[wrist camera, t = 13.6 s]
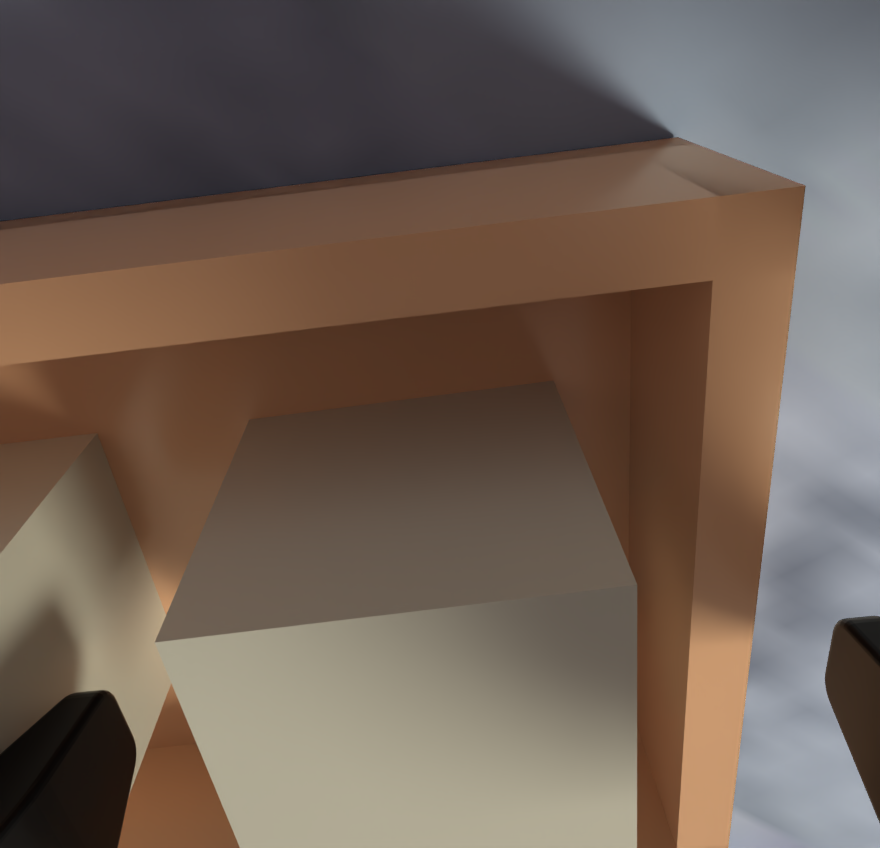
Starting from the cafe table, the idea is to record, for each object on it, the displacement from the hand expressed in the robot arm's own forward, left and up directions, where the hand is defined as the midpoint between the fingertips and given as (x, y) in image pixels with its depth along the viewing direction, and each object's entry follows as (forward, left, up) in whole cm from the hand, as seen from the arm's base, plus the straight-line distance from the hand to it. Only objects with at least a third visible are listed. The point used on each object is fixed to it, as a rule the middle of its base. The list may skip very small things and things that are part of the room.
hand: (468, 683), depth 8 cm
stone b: (0, 0, -3) cm, 3 cm away
